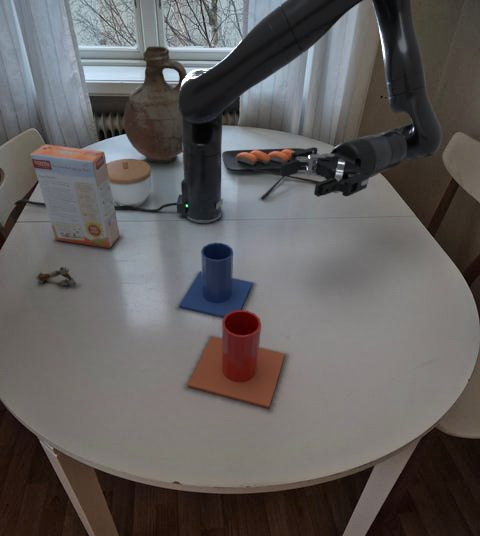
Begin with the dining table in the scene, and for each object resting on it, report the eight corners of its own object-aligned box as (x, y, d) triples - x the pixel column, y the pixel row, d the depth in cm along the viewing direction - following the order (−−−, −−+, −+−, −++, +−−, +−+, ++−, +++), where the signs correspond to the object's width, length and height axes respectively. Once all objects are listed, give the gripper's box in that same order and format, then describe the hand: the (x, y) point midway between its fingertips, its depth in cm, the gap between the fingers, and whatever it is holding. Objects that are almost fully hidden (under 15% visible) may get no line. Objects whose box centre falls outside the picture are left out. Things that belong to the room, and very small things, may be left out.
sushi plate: (305, 153, 145) (307, 141, 142) (334, 195, 123) (337, 183, 121) (220, 156, 140) (220, 144, 138) (235, 200, 119) (235, 187, 116)
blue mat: (179, 307, 86) (179, 305, 86) (200, 273, 95) (200, 271, 94) (236, 320, 84) (236, 318, 84) (252, 284, 92) (252, 282, 92)
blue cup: (198, 301, 88) (196, 257, 80) (208, 283, 92) (207, 240, 84) (226, 308, 87) (227, 263, 79) (235, 289, 91) (236, 246, 83)
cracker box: (120, 236, 104) (105, 150, 90) (109, 249, 100) (92, 161, 85) (67, 227, 106) (44, 142, 92) (54, 240, 102) (28, 152, 87)
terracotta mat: (187, 387, 72) (187, 384, 71) (211, 338, 80) (211, 336, 80) (269, 408, 69) (269, 406, 69) (284, 355, 78) (285, 353, 77)
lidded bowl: (97, 206, 114) (88, 166, 106) (123, 186, 123) (117, 148, 115) (138, 217, 111) (132, 176, 103) (162, 196, 120) (159, 156, 112)
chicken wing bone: (77, 286, 88) (63, 268, 86) (48, 293, 91) (34, 276, 89) (81, 281, 90) (68, 263, 87) (52, 287, 93) (39, 271, 90)
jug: (131, 143, 145) (117, 39, 125) (194, 143, 148) (191, 41, 127) (125, 171, 130) (108, 58, 109) (197, 170, 132) (193, 59, 111)
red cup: (217, 377, 73) (217, 331, 65) (228, 352, 77) (229, 306, 70) (251, 386, 72) (255, 340, 64) (260, 360, 76) (265, 314, 68)
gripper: (336, 126, 82) (272, 144, 74) (398, 152, 74) (333, 175, 66) (329, 164, 87) (269, 185, 79) (386, 192, 79) (324, 218, 71)
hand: (298, 180), depth 73 cm, fingers open, 8 cm apart
